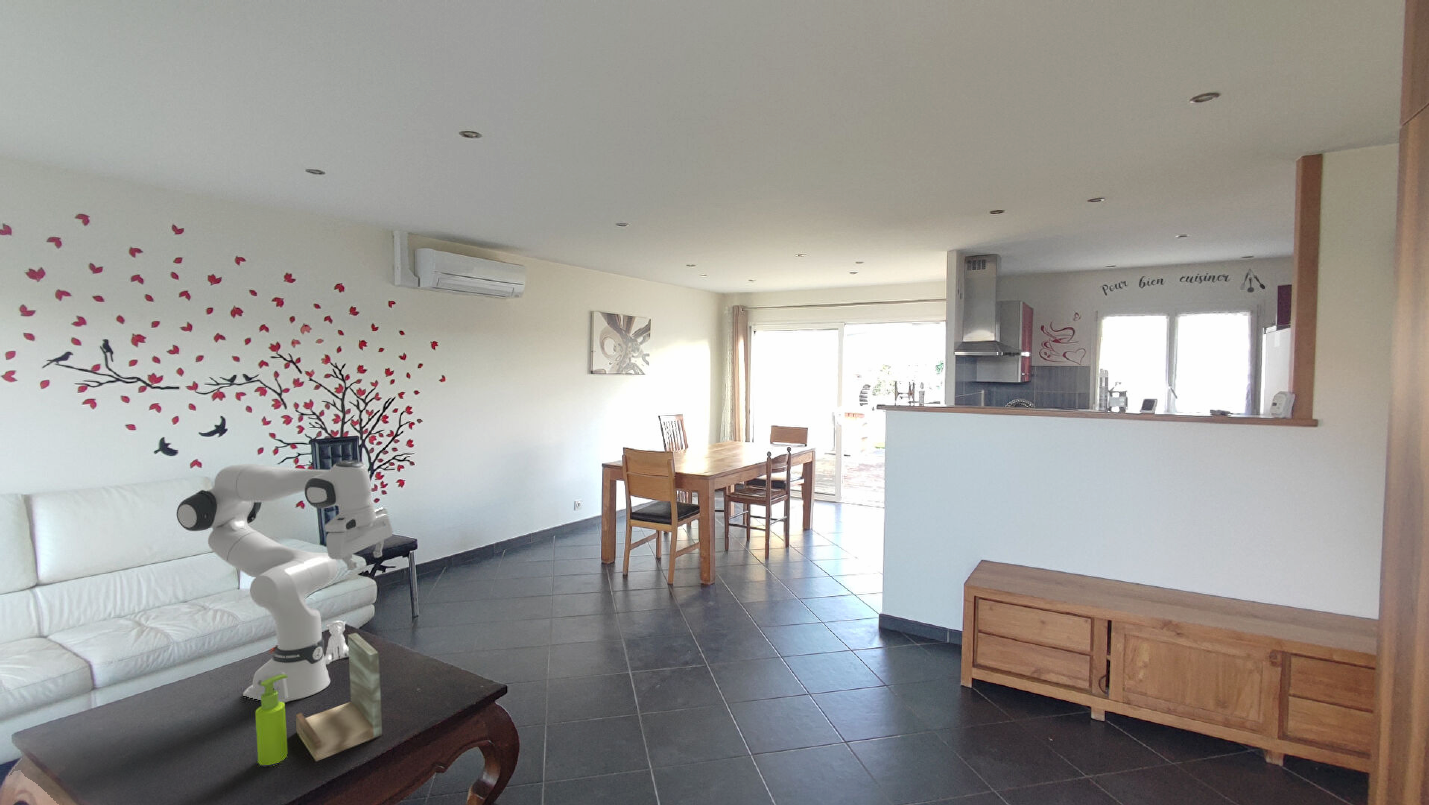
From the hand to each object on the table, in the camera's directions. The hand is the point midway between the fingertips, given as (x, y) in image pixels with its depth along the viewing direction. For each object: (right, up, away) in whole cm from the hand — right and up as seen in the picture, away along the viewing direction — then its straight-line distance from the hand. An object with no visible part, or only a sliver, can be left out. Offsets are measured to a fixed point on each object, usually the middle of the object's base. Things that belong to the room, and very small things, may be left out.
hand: (365, 562), depth 180 cm
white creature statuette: (-25, -39, +27) cm, 54 cm away
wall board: (+2, -41, -17) cm, 44 cm away
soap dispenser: (-7, -42, -27) cm, 50 cm away
